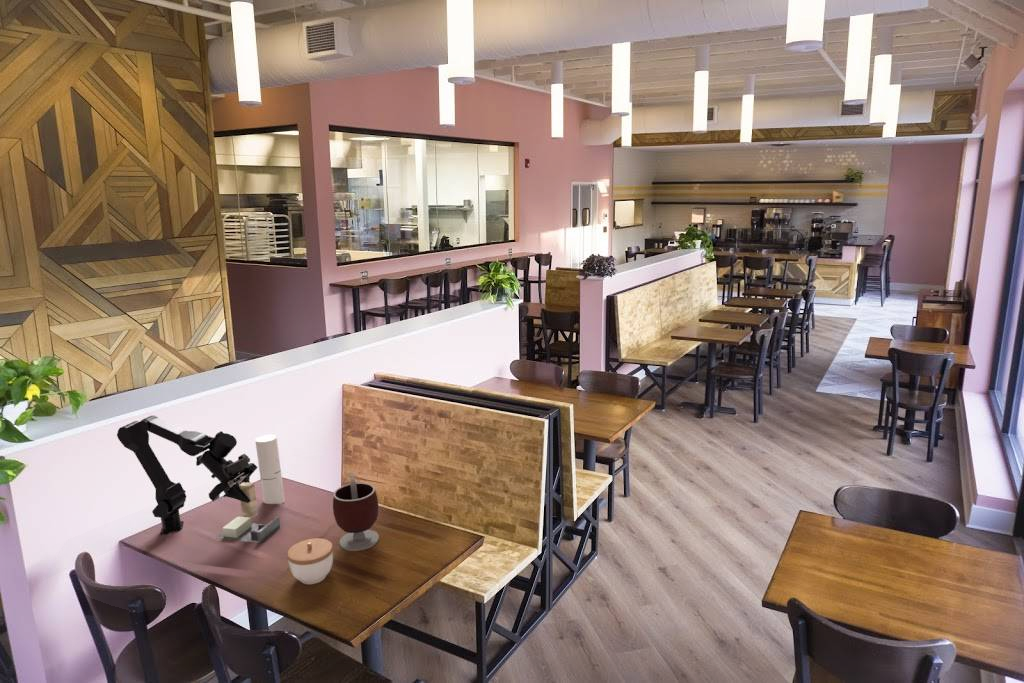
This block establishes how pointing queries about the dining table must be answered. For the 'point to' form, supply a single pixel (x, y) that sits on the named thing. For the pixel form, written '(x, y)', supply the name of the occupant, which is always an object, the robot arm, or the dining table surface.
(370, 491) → the mate gourd
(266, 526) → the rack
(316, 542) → the lidded bowl
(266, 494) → the cylindrical container
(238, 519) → the offcut upper
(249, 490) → the birch board
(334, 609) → the dining table surface
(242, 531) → the offcut lower
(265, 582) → the dining table surface
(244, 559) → the dining table surface
